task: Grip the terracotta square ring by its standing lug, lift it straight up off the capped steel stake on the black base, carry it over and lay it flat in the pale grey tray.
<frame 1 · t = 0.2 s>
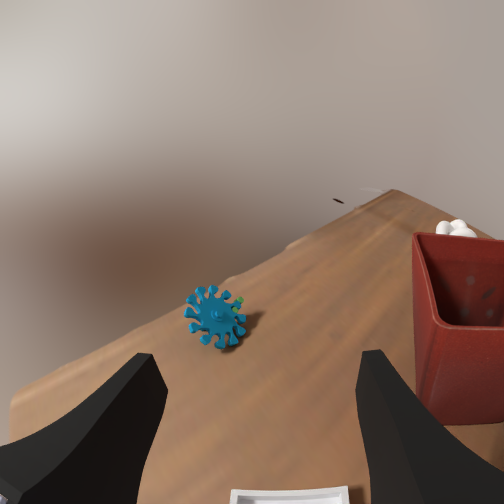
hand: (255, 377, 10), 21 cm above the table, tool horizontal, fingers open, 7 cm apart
white knot sculpture: (454, 259, 60), on the table
plant pot: (457, 389, 28), on the table
gear: (222, 335, 45), on the table
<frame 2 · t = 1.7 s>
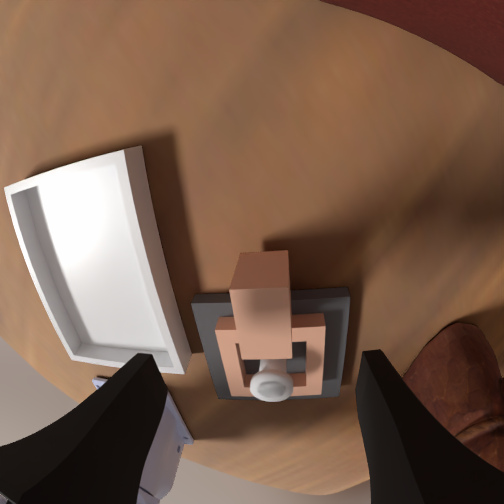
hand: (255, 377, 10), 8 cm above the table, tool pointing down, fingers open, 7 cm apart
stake: (274, 342, 19), on the table
tray: (99, 268, 18), on the table
wooden figurine: (428, 370, 20), on the table
ring: (273, 353, 18), point 1 cm above the table, touching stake
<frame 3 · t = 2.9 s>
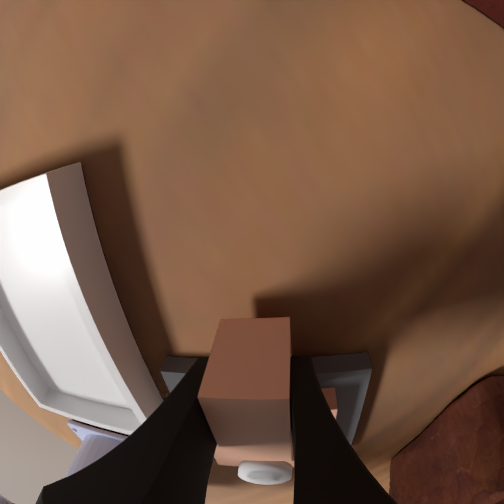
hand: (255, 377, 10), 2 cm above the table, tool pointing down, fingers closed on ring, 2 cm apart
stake: (270, 410, 14), on the table
tray: (52, 316, 13), on the table
wooden figurine: (449, 422, 15), on the table
ring: (269, 425, 13), point 1 cm above the table, touching gripper, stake
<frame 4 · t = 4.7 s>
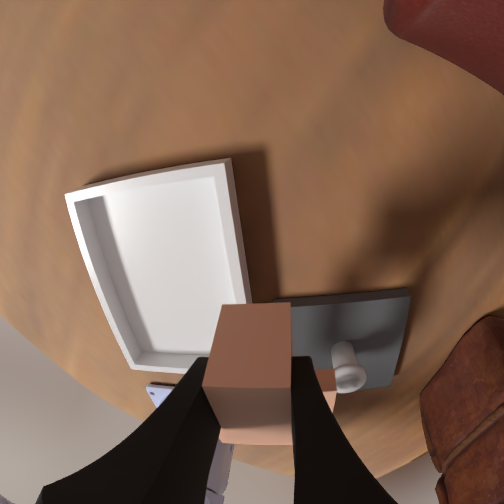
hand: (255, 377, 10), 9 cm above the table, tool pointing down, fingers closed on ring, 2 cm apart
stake: (340, 340, 20), on the table
tray: (171, 277, 19), on the table
wooden figurine: (462, 359, 21), on the table
ring: (270, 404, 14), point 7 cm above the table, tilted 6°, touching gripper
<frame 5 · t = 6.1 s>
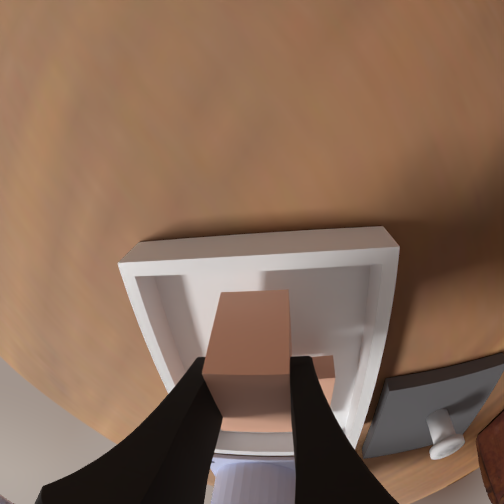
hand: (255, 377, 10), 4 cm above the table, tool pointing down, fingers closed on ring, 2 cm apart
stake: (433, 404, 16), on the table
tray: (269, 363, 15), on the table
ring: (270, 391, 14), point 1 cm above the table, tilted 9°, touching gripper, tray
when the fingers open (4 cm above the table, at t = 6.8 s): ring stays where it is, resting on tray.
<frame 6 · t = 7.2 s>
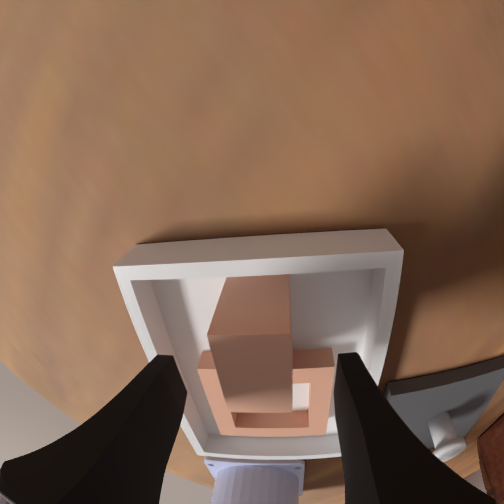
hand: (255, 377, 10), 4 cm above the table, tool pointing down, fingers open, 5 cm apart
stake: (434, 408, 15), on the table
tray: (269, 367, 14), on the table
ring: (270, 390, 14), resting on tray
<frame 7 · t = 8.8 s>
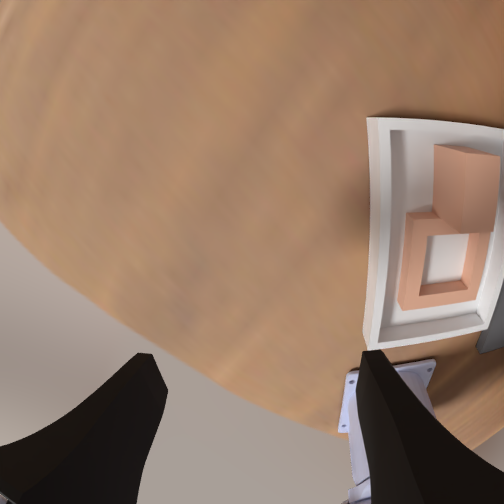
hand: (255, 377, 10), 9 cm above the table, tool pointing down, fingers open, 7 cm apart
tray: (441, 234, 16), on the table
ring: (442, 256, 16), resting on tray
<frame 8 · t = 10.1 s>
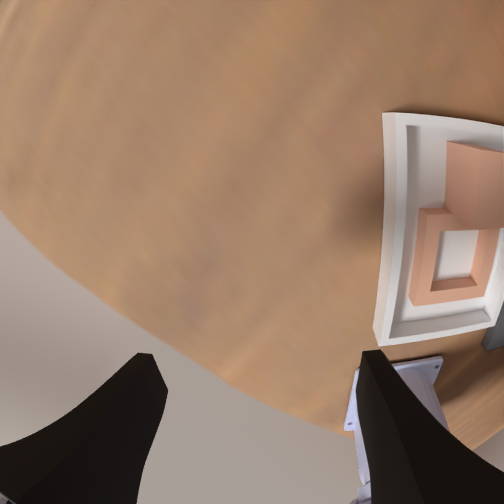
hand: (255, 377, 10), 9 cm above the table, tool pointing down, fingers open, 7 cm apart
tray: (452, 230, 16), on the table
ring: (452, 252, 16), resting on tray
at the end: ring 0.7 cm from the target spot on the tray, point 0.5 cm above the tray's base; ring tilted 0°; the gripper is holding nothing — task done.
